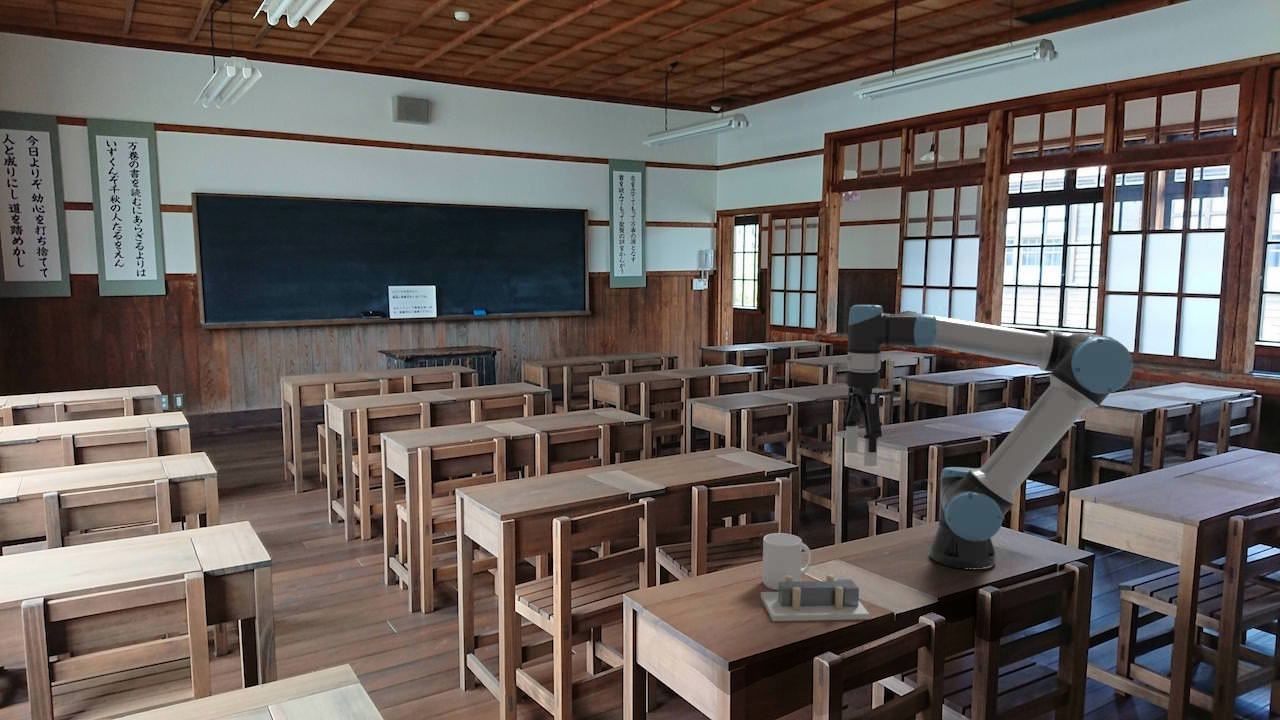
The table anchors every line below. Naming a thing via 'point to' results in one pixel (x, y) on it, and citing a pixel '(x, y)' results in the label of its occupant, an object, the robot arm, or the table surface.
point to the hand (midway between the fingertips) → (860, 458)
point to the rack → (811, 607)
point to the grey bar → (819, 593)
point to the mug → (782, 559)
